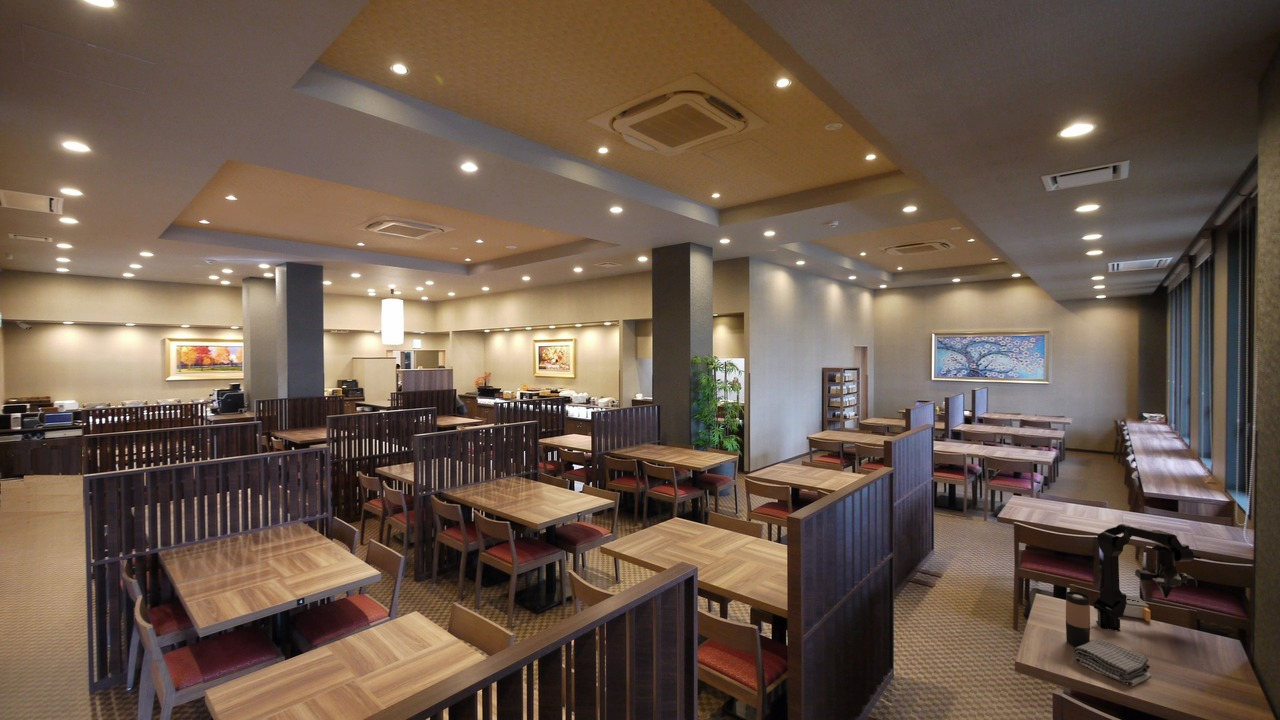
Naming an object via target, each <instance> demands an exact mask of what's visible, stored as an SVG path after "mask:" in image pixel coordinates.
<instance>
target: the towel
mask: <svg viewBox="0 0 1280 720" xmlns="http://www.w3.org/2000/svg"><path fill="white" fill-rule="evenodd" d="M1073 653H1074V655H1075V657H1074V658H1073V662H1074V663H1076V664H1078V665H1079V666H1082V667H1085V668H1087V667H1088V669H1090V670H1092V671H1093V672H1095V673H1098V674H1101V675H1102V676H1103V675H1104V676H1106V677H1108V676H1109V678H1111V679H1113V680H1115V679H1116V681H1117V682H1120V681H1121V682H1120V683H1122V682H1123V684H1125V685H1128V686H1129V685H1130V687H1132V686H1133V687H1135V686H1137V685H1138V684H1140V682H1141V683H1143V682H1144V681H1146V680H1148V679H1150V678H1152V675H1151V673H1150V672H1149V671H1148V670H1149V669H1150V668H1151V665H1149V664H1148V663H1147V662H1149V658H1148V657H1147V656H1145V655H1143V654H1140V653H1137V652H1134V651H1131V650H1129V649H1127V648H1125V647H1122V646H1119V645H1117V644H1115V643H1112V642H1109V641H1107V640H1104V639H1093V640H1091V641H1090V642H1088V643H1086V644H1084V645H1081V646H1078V647H1076V648H1075V647H1073ZM1126 683H1128V684H1126Z"/></svg>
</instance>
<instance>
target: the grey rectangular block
mask: <svg viewBox="0 0 1280 720" xmlns="http://www.w3.org/2000/svg"><path fill="white" fill-rule="evenodd" d="M1151 613H1152V611H1151V610H1150V609H1149V607H1148V608H1147V607H1142V606H1135V605H1128V604H1126V608H1125V610H1124V613H1123V615H1125V616H1124V617H1128V616H1132V617H1131V618H1135V617H1139V618H1138V619H1142V618H1144V620H1145V622H1151V620H1152V619H1151Z"/></svg>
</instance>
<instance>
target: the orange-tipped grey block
mask: <svg viewBox="0 0 1280 720" xmlns="http://www.w3.org/2000/svg"><path fill="white" fill-rule="evenodd" d="M1126 596H1127V598H1126V602H1127V604H1128V605H1135V606H1142V607H1147V608H1148V609H1149V607H1150V605H1148V604H1147V602H1145V601H1144V600H1143V599H1142V598H1140V597H1139V596H1134V595H1127V594H1126ZM1099 597H1100V595H1099V596H1098V598H1099ZM1127 599H1131V600H1127ZM1132 600H1136V601H1132ZM1137 601H1139V602H1137ZM1106 608H1108V607H1106ZM1108 609H1110V608H1108ZM1110 610H1112V609H1110ZM1122 617H1126V616H1125V615H1123V616H1122ZM1127 617H1129V618H1133V617H1132V616H1127ZM1134 618H1137V619H1140V618H1139V617H1134ZM1141 619H1144V618H1141ZM1144 620H1145V619H1144Z"/></svg>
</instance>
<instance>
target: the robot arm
mask: <svg viewBox="0 0 1280 720" xmlns="http://www.w3.org/2000/svg"><path fill="white" fill-rule="evenodd" d="M1122 534H1123V535H1122ZM1120 535H1122V536H1120ZM1096 536H1097V537H1096V538H1097V544H1098V547H1099V550H1100V551H1101V552H1102V555H1103V556H1102V557H1103V581H1104V582H1103V588H1102V589H1101V590H1100V591H1099V596H1100V597H1099V596H1098V598H1097V599H1096V600H1095V601H1094V602H1093V603H1092V606H1093V608H1094V609H1096V610H1097V620H1096V621H1095V623H1096V624H1097V625H1098V626H1099V628H1100V629H1101V630H1102V629H1103V630H1108V629H1109V630H1110V629H1111V630H1110V631H1115V630H1117V631H1116V632H1121V619H1120V618H1122V617H1124V616H1123V613H1124V610H1125V608H1126V604H1127V602H1126V598H1127V596H1128V595H1127V594H1126V593H1124V592H1122V591H1121V588H1120V569H1119V568H1120V562H1119V560H1120V559H1119V557H1120V555H1121V554H1122V552H1123V551H1124V546H1125V545H1127V544H1129V543H1130V539H1131V538H1132V537H1134V538H1140V539H1144V540H1149V541H1151V542H1154V543H1156V544H1155V546H1152V547H1151V550H1153V551H1155V553H1156V554H1155V555H1156V557H1155V559H1156V560H1154V563H1155V566H1156V567H1155V569H1154V573H1151V572H1150V571H1148V570H1145V569H1136V570H1135V571H1134V576H1136V577H1137V578H1139V580H1141V581H1148V582H1151V581H1152V580H1153V581H1154V582H1155V583H1156V585H1157V587H1158V588H1159V590H1160V592H1161V594H1162V596H1163V598H1166V599H1168V597H1169V596H1170V593H1171V591H1173V589H1174V588H1176V587H1179V586H1181V585H1182V583H1184V584H1186V585H1187V586H1189V587H1198V581H1197V580H1196V579H1195V578H1194V577H1192V576H1191V575H1189V574H1186V573H1185V572H1178V571H1177V566H1176V565H1175V564H1176V563H1175V562H1192V561H1193V560H1195V554H1194V552H1193V551H1192V549H1191V548H1190V545H1188V544H1185V543H1183V544H1182V543H1181V542H1180V541H1179V539H1178V536H1177V535H1176V534H1172V533H1170V532H1167V531H1164V530H1160V529H1151V530H1147V529H1143V528H1141V527H1140V528H1139V527H1135V526H1131V525H1127V524H1124V523H1120V524H1118V525H1116V526H1113V527H1111V528H1107V529H1105V530H1104V531H1101V532H1100V533H1099V534H1098V535H1096ZM1126 595H1127V596H1126ZM1106 607H1108V608H1110V609H1112V610H1110V609H1108V608H1106Z"/></svg>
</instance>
